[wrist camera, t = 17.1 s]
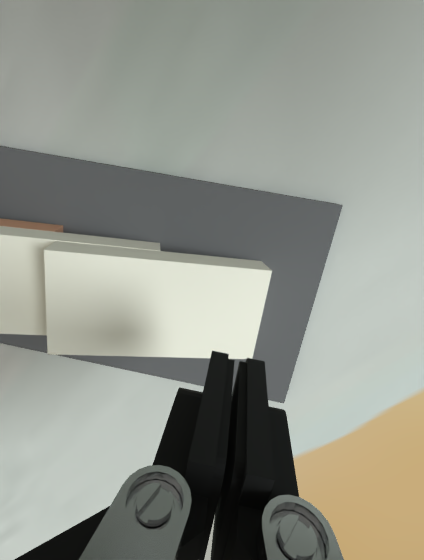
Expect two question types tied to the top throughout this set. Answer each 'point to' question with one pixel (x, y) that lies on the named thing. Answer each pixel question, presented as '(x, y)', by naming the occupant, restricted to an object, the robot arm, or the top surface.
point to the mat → (182, 243)
